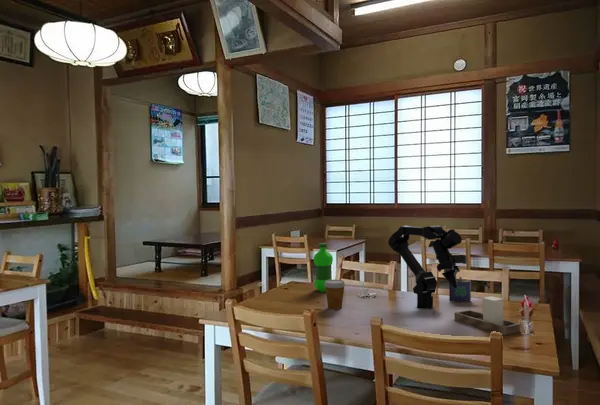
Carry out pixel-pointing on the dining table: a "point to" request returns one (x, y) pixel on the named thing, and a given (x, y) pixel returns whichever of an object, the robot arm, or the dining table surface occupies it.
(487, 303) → the cream block
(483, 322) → the walnut box
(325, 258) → the plastic bottle
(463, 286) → the flask
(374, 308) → the dining table surface
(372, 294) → the teacup and saucer
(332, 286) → the disposable coffee cup
